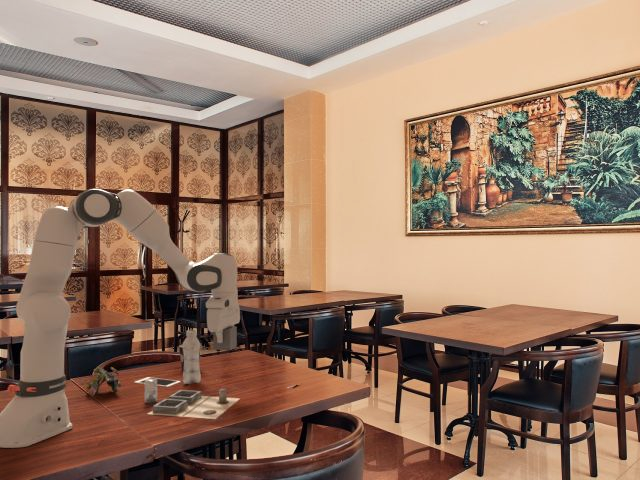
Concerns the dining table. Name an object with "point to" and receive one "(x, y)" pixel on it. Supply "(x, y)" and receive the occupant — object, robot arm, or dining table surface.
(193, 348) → the plastic bottle
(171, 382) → the cell phone
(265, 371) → the dining table surface
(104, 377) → the olive green irregular piece
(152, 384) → the steel peg
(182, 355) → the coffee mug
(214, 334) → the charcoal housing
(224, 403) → the board
